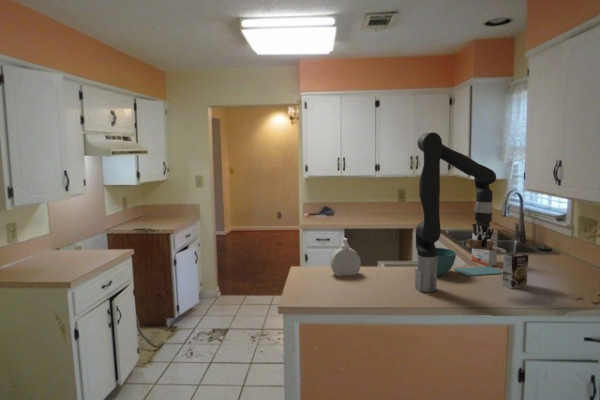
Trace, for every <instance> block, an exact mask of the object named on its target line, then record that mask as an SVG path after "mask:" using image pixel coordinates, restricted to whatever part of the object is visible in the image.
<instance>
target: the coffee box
mask: <svg viewBox="0 0 600 400" xmlns="http://www.w3.org/2000/svg"><path fill="white" fill-rule="evenodd" d="M503 255H504V256H503V267H502V268H503V269H502V272H503V274H502V286H504V287H506V288H509V289H512V290H514V289H521V288H522V289H523V288H527V287H528V270H529V268H528V267H529V255H528V254H525V253H521V252H510V253H504V254H503Z"/></svg>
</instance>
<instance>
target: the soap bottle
mask: <svg viewBox="0 0 600 400" xmlns="http://www.w3.org/2000/svg"><path fill="white" fill-rule="evenodd" d="M329 263H330V268H331V271H332V272H333V274H334V275H335V276H336V277H343V276H345V277H346V276H357V275H358V273H359V272H360V270H361V266H362V263H361V258H360V256H359V254H358V252H357V251H355V250H354V249H352V247H350V244H349V243H348V238H346V237H343V243H341V246H340V247H339V248H337V249H336V250H335V251H334V252H333V254H332V255H331V258H330V262H329Z"/></svg>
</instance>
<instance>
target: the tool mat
mask: <svg viewBox="0 0 600 400" xmlns="http://www.w3.org/2000/svg"><path fill="white" fill-rule="evenodd" d="M453 270H454V271H456V272H458V273H459V274H461V275H462V276H464V277H478V276H489V275H490V276H492V275H493V276H494V275H503V271H501V270H499V269H497V268H495V267H494V266H473V267H458V268H453Z"/></svg>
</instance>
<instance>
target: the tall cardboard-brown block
mask: <svg viewBox="0 0 600 400" xmlns="http://www.w3.org/2000/svg"><path fill="white" fill-rule="evenodd" d="M465 247H466V248H468V249H471V250H472V249H482V250H491V251H494V252H497V253H502V254H503V253H504V254H507V250H506V249H504V248H501V247H499V246H497V247H493V242H491V241H487V247H486V248H483V247H482V240H475V239H472V238H467V239H466V243H465Z"/></svg>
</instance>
